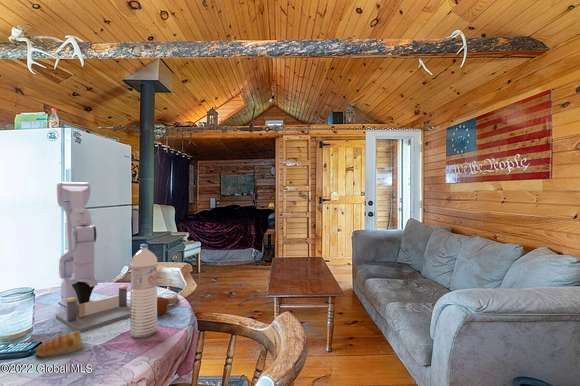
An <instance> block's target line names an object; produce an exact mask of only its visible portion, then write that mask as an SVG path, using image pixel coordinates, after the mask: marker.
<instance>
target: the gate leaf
mask: <svg viewBox="0 0 580 386" xmlns="http://www.w3.org/2000/svg"><path fill="white" fill-rule="evenodd" d="M118 306H119V294H115V295H111V296H108V297H103V298H99V299H95V300H93V301H91V302H87V303H81V304H77V317H79V318H80V317H84V316H86V315H89V314H93V313H97V312H100V311H104V310H107V309H111V308H114V307H118Z"/></svg>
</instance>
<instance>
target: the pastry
mask: <svg viewBox="0 0 580 386" xmlns="http://www.w3.org/2000/svg"><path fill="white" fill-rule="evenodd" d="M82 347H83V341H82V336H81V332H80V331H76V330H75V331H74V332H72V333H71V332H68V333H64V334H61V335H59V336H58V337H57V336H56V337H54V338H53V339H50V340H48V341H47V342H44V343H42V344H39V346H38V347H37V348H36V350H35V354H36V356H38V357H40V358H41V357H42V358H46V357H53V356H54V357H55V356H60V355H64V354H69V353H73V352H77V351H79V350H81V349H82Z"/></svg>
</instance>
